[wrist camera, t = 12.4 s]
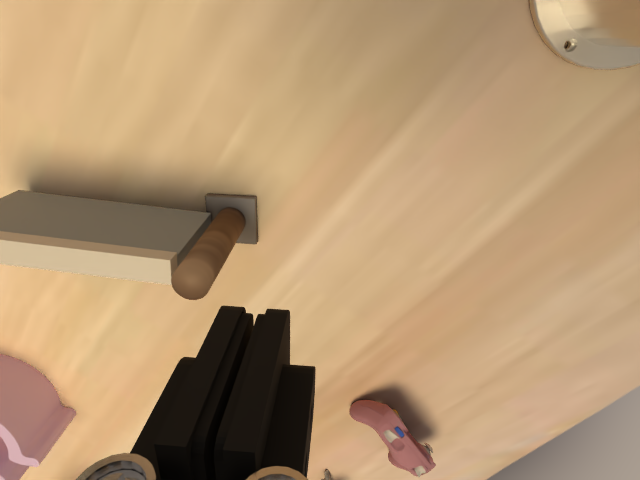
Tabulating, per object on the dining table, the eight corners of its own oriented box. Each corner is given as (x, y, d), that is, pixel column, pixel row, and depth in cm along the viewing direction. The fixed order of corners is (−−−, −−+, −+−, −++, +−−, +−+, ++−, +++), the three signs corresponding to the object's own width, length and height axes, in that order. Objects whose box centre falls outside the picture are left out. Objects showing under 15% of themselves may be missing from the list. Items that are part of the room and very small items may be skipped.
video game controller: (417, 432, 51) (451, 471, 45) (388, 458, 51) (419, 502, 44) (373, 378, 48) (404, 412, 42) (343, 406, 48) (369, 444, 41)
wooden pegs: (207, 193, 38) (153, 252, 28) (256, 196, 38) (220, 256, 28) (225, 402, 49) (191, 500, 39) (263, 405, 49) (239, 504, 39)
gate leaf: (210, 210, 38) (170, 260, 29) (211, 230, 38) (171, 285, 30) (18, 187, 38) (-78, 230, 29) (22, 208, 39) (-69, 255, 30)
